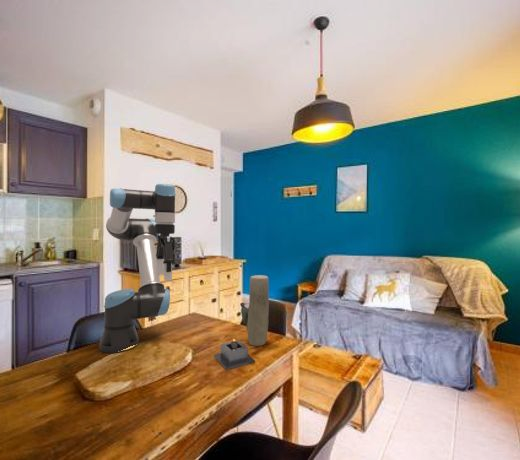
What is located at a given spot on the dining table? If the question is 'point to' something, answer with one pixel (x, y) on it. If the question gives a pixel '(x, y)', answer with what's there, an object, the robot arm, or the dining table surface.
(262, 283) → the decorative sculpture
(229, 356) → the grey square hollow block
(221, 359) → the post
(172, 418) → the dining table surface
